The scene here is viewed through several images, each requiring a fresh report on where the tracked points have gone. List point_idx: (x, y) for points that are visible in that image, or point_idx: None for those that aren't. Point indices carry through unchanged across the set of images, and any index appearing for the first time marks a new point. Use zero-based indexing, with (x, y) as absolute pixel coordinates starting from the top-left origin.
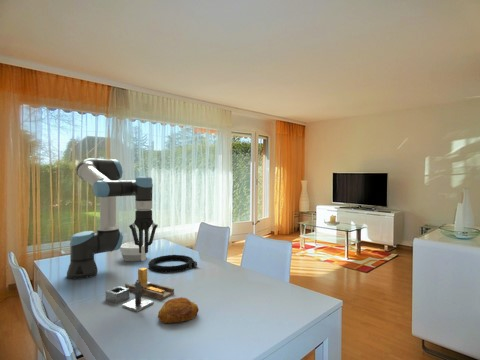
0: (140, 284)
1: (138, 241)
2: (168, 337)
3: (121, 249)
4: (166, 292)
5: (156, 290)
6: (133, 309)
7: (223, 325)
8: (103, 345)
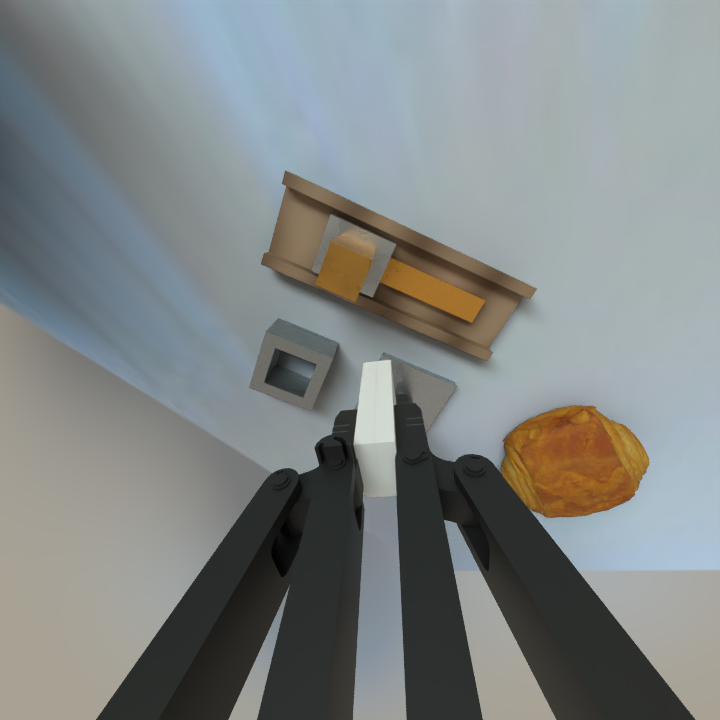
0: None
1: (292, 508)
2: None
3: None
4: (493, 299)
5: (446, 307)
6: None
7: (701, 485)
8: None
